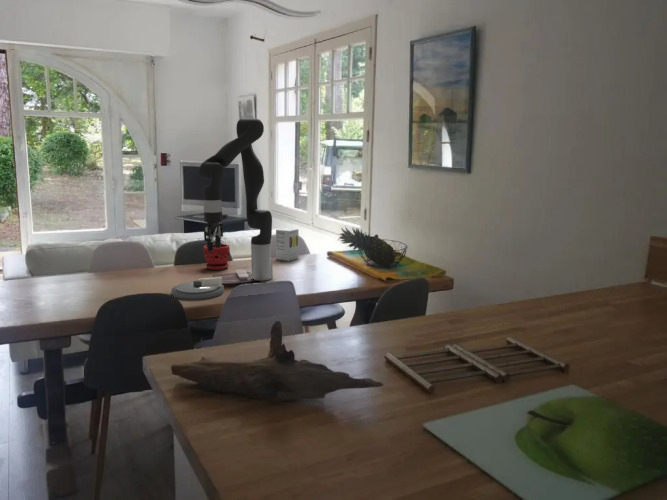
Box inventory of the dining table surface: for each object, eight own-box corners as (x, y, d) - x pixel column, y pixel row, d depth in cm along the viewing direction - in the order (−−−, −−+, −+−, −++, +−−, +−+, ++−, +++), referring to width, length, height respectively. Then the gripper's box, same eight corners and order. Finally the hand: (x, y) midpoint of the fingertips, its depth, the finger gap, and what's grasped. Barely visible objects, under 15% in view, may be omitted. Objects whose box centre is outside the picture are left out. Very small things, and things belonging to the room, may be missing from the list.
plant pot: (235, 267, 298) (234, 244, 296) (217, 272, 287) (216, 248, 285) (216, 264, 305) (216, 242, 303) (198, 268, 294) (198, 245, 292)
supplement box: (288, 261, 314) (288, 231, 310) (275, 259, 319) (275, 229, 315) (299, 258, 322) (298, 228, 318) (286, 256, 326) (285, 227, 323)
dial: (177, 295, 236) (177, 285, 236) (174, 284, 253) (174, 276, 252) (225, 291, 243) (224, 282, 242) (219, 281, 259) (218, 272, 259)
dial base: (203, 283, 263) (203, 279, 263) (234, 292, 249) (233, 287, 249) (161, 293, 247) (161, 288, 247) (191, 302, 233) (191, 297, 232)
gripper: (213, 213, 232) (215, 252, 235) (228, 208, 245) (229, 246, 249) (196, 212, 233) (198, 252, 237) (212, 208, 247) (213, 245, 250)
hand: (214, 249), depth 243 cm, fingers open, 7 cm apart
